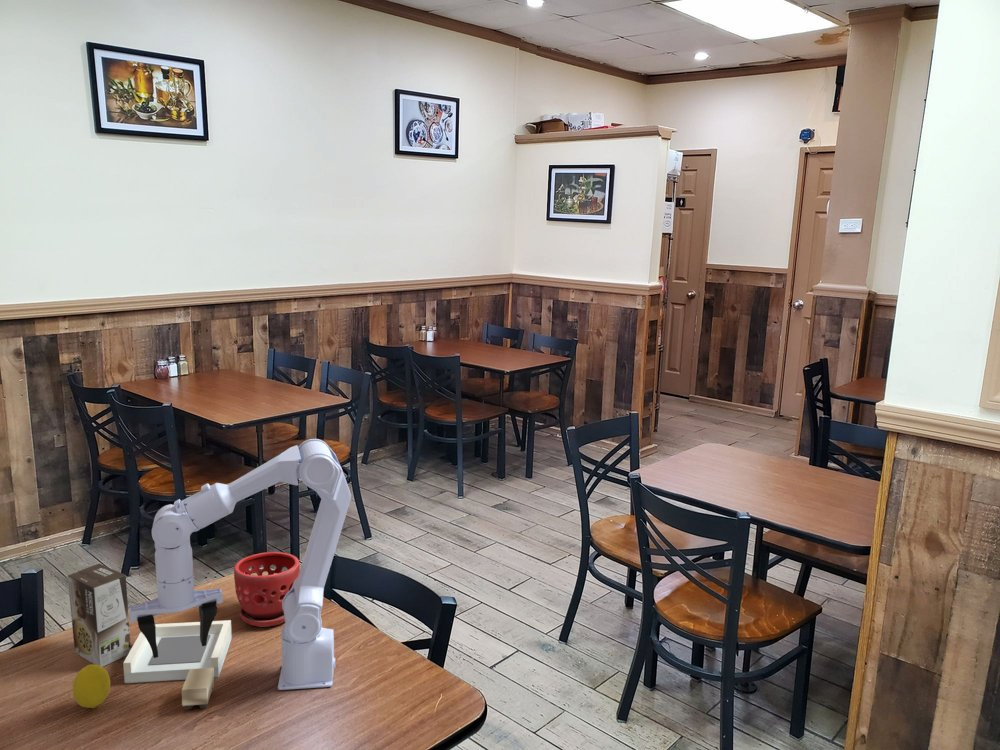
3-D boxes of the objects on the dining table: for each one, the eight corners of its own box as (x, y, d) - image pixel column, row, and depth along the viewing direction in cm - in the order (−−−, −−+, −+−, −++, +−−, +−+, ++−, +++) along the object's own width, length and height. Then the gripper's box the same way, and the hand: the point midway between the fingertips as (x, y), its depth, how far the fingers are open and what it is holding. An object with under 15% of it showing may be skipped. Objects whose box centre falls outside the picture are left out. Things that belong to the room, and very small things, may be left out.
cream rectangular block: (214, 688, 132) (213, 667, 131) (207, 710, 126) (206, 688, 125) (191, 690, 131) (189, 669, 130) (182, 712, 125) (181, 689, 125)
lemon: (103, 693, 130) (100, 651, 128) (117, 707, 126) (114, 664, 125) (69, 708, 125) (65, 665, 124) (83, 722, 122) (79, 679, 120)
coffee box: (133, 653, 142) (127, 574, 139) (99, 669, 136) (93, 588, 133) (105, 637, 147) (100, 561, 143) (72, 652, 141) (66, 574, 138)
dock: (231, 638, 148) (230, 620, 147) (218, 677, 135) (217, 657, 135) (145, 643, 145) (144, 624, 144) (124, 683, 133) (123, 663, 132)
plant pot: (312, 615, 158) (312, 562, 155) (257, 639, 148) (255, 583, 146) (278, 594, 166) (277, 544, 164) (223, 615, 156) (221, 562, 154)
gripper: (216, 557, 132) (219, 627, 135) (125, 575, 125) (131, 648, 128) (223, 574, 126) (227, 646, 129) (128, 593, 119) (134, 669, 122)
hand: (179, 648), depth 128 cm, fingers open, 7 cm apart
